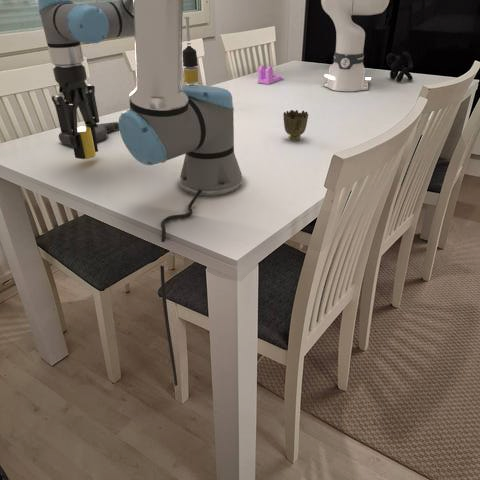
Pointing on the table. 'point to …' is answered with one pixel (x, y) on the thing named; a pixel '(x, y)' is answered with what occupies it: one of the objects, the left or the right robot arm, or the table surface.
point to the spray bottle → (100, 132)
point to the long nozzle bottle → (190, 60)
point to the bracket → (267, 75)
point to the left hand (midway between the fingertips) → (86, 154)
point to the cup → (295, 123)
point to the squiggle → (399, 66)
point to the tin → (87, 141)
